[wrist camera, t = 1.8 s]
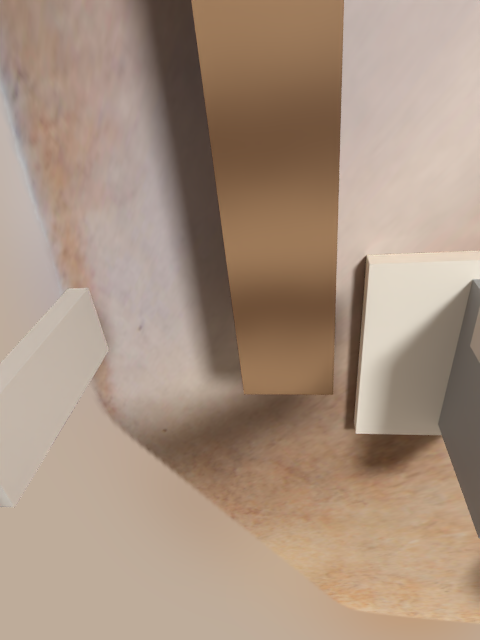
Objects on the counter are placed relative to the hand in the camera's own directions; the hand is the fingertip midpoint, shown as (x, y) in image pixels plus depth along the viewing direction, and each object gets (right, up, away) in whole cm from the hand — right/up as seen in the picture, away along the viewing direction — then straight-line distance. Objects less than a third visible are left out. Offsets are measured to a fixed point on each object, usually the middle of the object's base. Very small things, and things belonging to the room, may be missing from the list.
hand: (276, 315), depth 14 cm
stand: (+12, -2, +9) cm, 15 cm away
